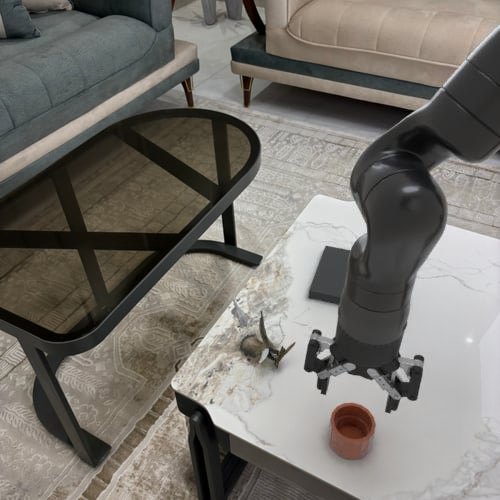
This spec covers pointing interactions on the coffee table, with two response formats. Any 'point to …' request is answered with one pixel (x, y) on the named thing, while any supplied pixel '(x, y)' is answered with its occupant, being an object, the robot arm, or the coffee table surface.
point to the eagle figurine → (263, 346)
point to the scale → (330, 275)
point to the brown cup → (351, 430)
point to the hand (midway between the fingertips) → (355, 398)
